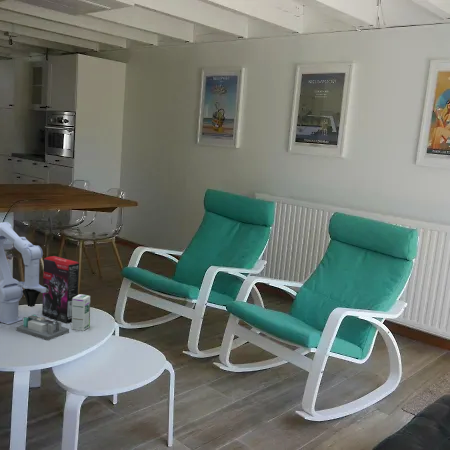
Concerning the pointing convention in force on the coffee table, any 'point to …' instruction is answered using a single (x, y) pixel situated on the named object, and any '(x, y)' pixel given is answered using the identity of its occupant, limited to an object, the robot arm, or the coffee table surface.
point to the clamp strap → (42, 320)
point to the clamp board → (44, 334)
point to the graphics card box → (59, 287)
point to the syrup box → (81, 312)
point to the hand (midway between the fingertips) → (31, 306)
